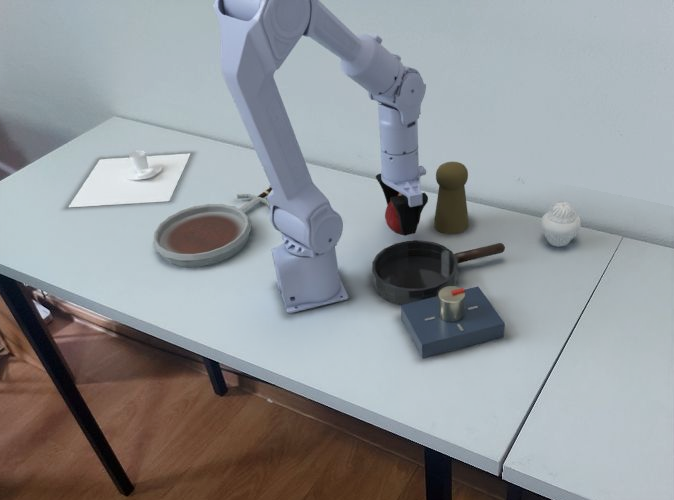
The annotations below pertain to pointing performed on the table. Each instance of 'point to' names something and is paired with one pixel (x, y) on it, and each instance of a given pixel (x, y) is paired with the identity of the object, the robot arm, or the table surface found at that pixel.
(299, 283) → the robot arm
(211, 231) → the frying pan
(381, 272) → the skillet
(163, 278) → the table surface
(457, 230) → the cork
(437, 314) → the blue control panel
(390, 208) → the red pomegranate
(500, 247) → the skillet handle
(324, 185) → the table surface
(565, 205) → the muffin
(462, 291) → the knob
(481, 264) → the table surface
